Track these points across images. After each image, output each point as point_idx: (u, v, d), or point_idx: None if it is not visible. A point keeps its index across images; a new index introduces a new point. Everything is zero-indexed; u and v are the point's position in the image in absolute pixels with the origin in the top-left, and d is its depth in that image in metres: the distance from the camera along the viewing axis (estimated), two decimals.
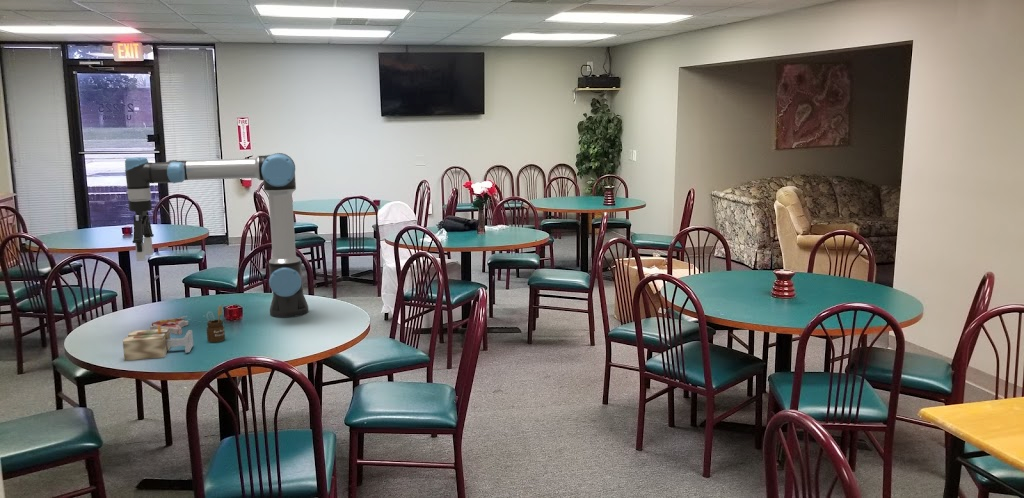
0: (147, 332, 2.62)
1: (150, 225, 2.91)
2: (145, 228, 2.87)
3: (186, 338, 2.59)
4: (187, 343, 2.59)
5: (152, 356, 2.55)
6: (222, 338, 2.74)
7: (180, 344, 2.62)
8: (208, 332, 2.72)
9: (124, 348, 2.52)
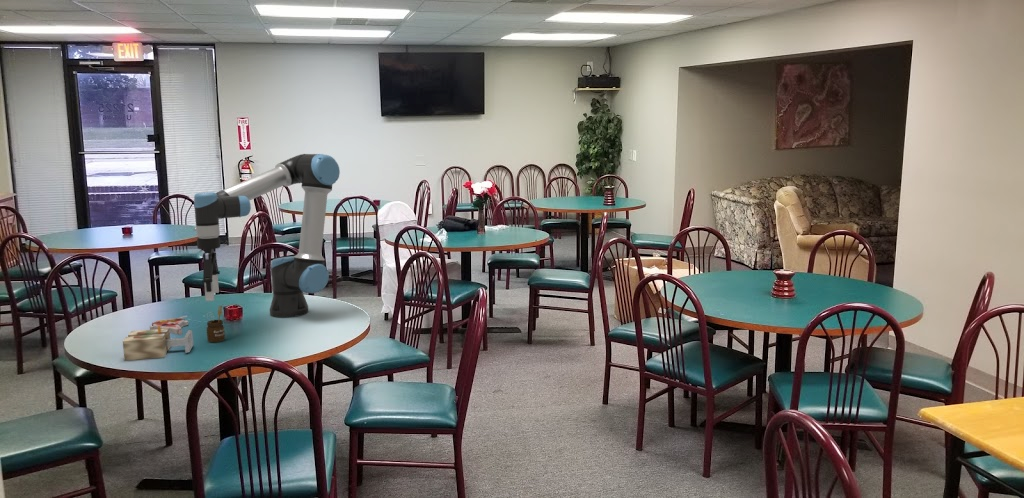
0: (147, 332, 2.62)
1: (216, 262, 2.79)
2: (212, 265, 2.75)
3: (186, 338, 2.59)
4: (187, 343, 2.59)
5: (152, 356, 2.55)
6: (222, 338, 2.74)
7: (180, 344, 2.62)
8: (208, 332, 2.72)
9: (124, 348, 2.52)
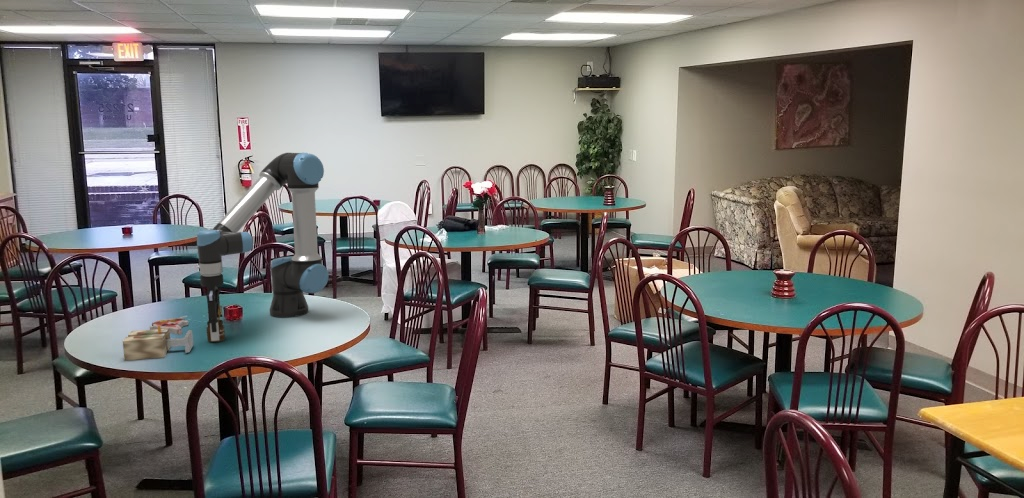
0: (147, 332, 2.62)
1: (219, 303, 2.79)
2: None
3: (186, 338, 2.59)
4: (187, 343, 2.59)
5: (152, 356, 2.55)
6: (222, 338, 2.74)
7: (180, 344, 2.62)
8: (208, 332, 2.72)
9: (124, 348, 2.52)
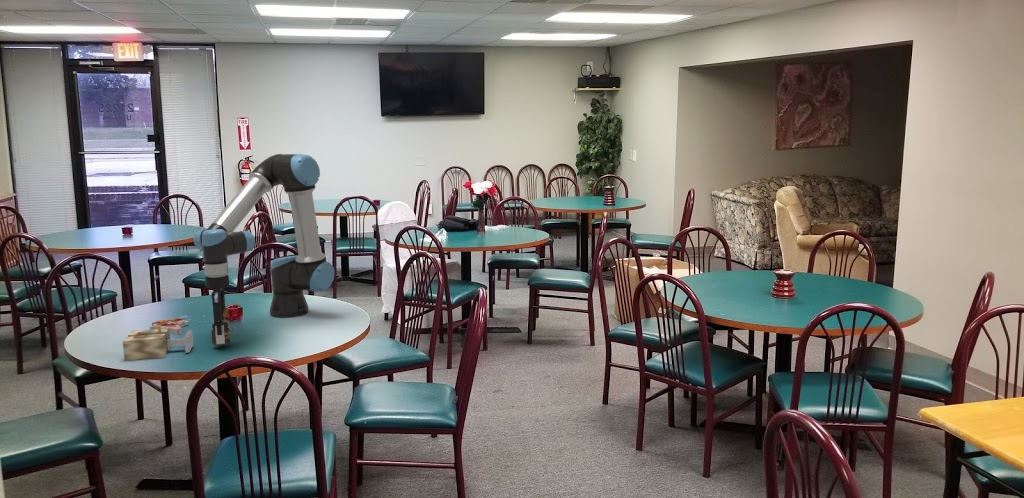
0: (147, 332, 2.62)
1: None
2: None
3: (186, 338, 2.59)
4: (187, 343, 2.59)
5: (152, 356, 2.55)
6: (227, 341, 2.65)
7: (180, 344, 2.62)
8: (213, 335, 2.63)
9: (124, 348, 2.52)
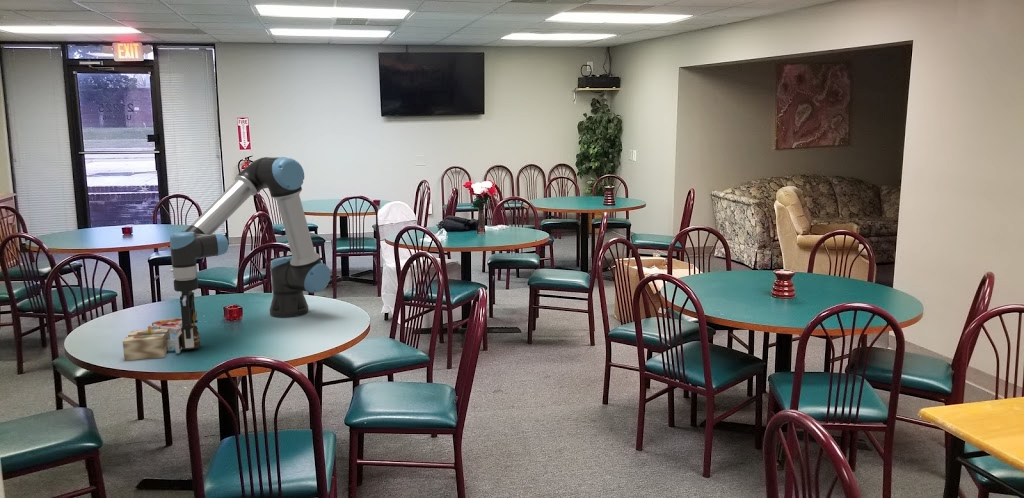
0: (147, 332, 2.62)
1: (194, 308, 2.68)
2: (190, 310, 2.64)
3: (176, 339, 2.58)
4: (177, 344, 2.58)
5: (152, 356, 2.55)
6: (197, 345, 2.62)
7: (170, 345, 2.61)
8: (182, 339, 2.61)
9: (124, 348, 2.52)
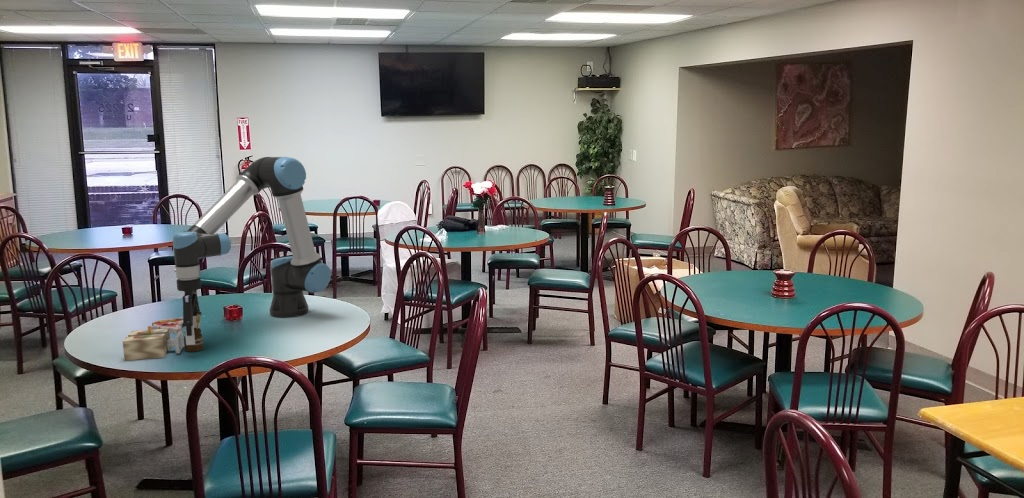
0: (147, 332, 2.62)
1: None
2: (193, 307, 2.66)
3: (176, 339, 2.58)
4: (177, 344, 2.58)
5: (152, 356, 2.55)
6: (200, 347, 2.63)
7: (170, 345, 2.61)
8: (185, 341, 2.61)
9: (124, 348, 2.52)
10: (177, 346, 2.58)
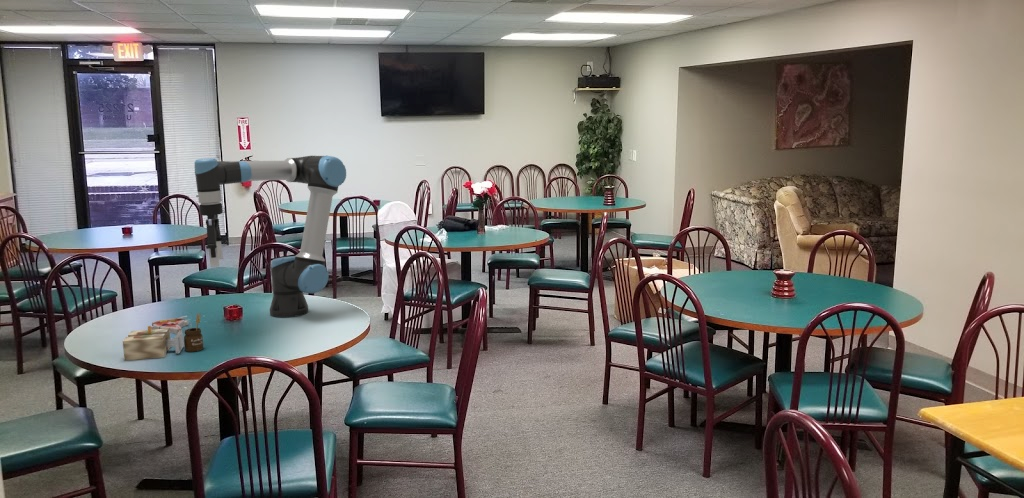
0: (147, 332, 2.62)
1: (219, 228, 2.79)
2: (215, 232, 2.75)
3: (176, 339, 2.58)
4: (177, 344, 2.58)
5: (152, 356, 2.55)
6: (200, 347, 2.63)
7: (170, 345, 2.61)
8: (185, 341, 2.61)
9: (124, 348, 2.52)
10: (177, 346, 2.58)
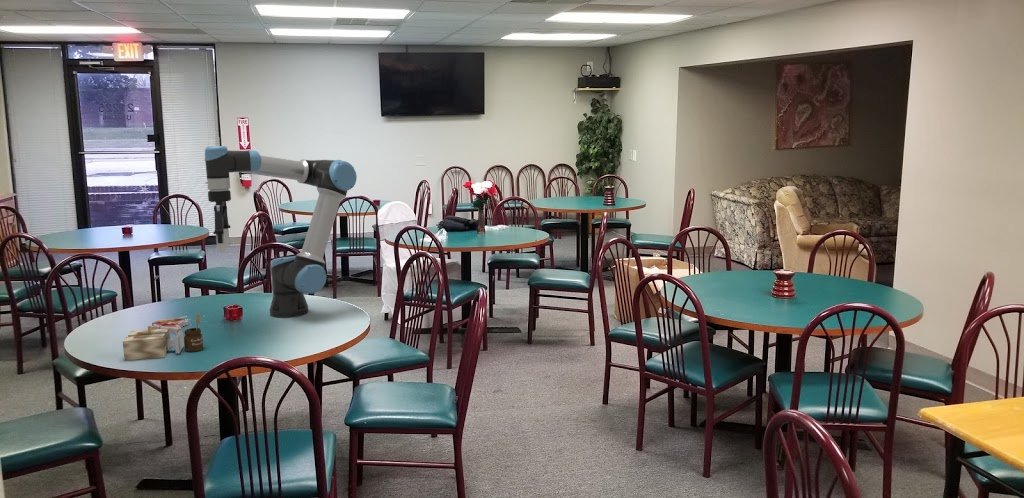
0: (147, 332, 2.62)
1: None
2: (223, 219, 2.79)
3: (176, 339, 2.58)
4: (177, 344, 2.58)
5: (152, 356, 2.55)
6: (200, 347, 2.63)
7: (170, 345, 2.61)
8: (185, 341, 2.61)
9: (124, 348, 2.52)
10: (177, 346, 2.58)
